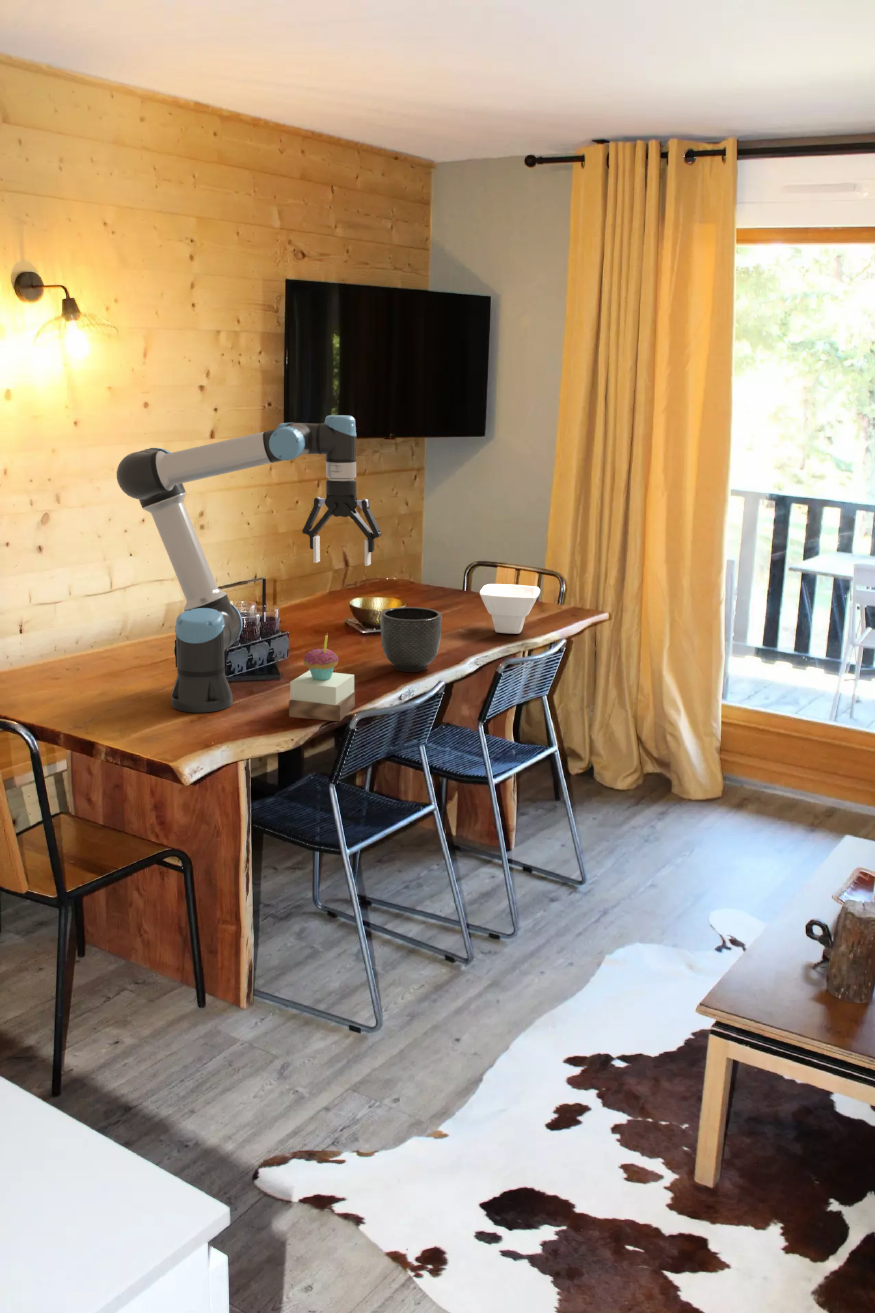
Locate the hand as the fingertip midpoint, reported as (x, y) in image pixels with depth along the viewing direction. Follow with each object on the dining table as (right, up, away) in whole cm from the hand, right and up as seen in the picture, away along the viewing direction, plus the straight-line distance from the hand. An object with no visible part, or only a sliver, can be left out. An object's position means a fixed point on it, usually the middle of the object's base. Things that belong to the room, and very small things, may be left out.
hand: (342, 563), depth 293 cm
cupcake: (-5, -29, -6) cm, 30 cm away
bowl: (+47, -16, +81) cm, 95 cm away
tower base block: (-5, -38, -4) cm, 38 cm away
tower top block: (-4, -33, -5) cm, 34 cm away
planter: (+16, -27, +37) cm, 48 cm away
